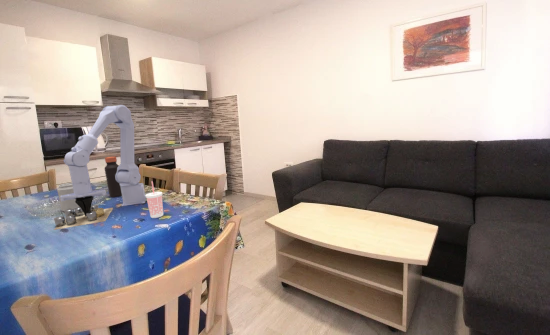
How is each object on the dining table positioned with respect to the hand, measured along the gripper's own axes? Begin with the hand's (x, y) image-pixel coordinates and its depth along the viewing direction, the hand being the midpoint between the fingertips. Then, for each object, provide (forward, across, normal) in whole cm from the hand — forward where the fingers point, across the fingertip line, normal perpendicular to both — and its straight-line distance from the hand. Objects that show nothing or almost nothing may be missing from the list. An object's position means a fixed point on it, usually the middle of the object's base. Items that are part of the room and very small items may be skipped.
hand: (87, 215), depth 105 cm
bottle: (+2, +5, +33) cm, 33 cm away
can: (+2, -10, +17) cm, 20 cm away
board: (+2, -1, 0) cm, 2 cm away
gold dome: (+1, +3, 0) cm, 4 cm away
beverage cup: (+2, +25, -11) cm, 28 cm away
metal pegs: (+1, -3, 0) cm, 3 cm away
